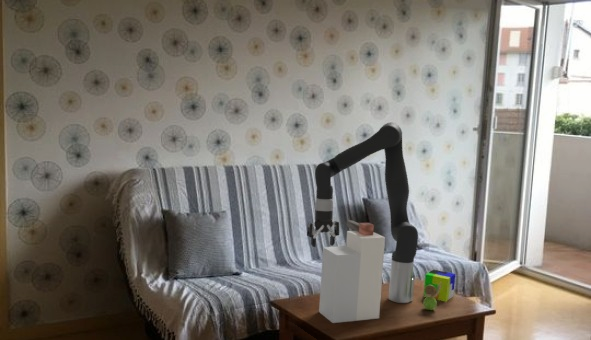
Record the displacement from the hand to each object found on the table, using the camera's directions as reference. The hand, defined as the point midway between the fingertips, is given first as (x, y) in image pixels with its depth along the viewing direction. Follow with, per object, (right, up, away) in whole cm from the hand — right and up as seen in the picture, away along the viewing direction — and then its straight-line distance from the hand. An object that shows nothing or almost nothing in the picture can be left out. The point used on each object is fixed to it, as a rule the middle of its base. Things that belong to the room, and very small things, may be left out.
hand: (322, 245), depth 267 cm
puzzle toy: (+51, -23, +4) cm, 56 cm away
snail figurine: (+43, -25, -15) cm, 52 cm away
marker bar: (+13, +9, -22) cm, 27 cm away
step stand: (+9, -24, -26) cm, 36 cm away
